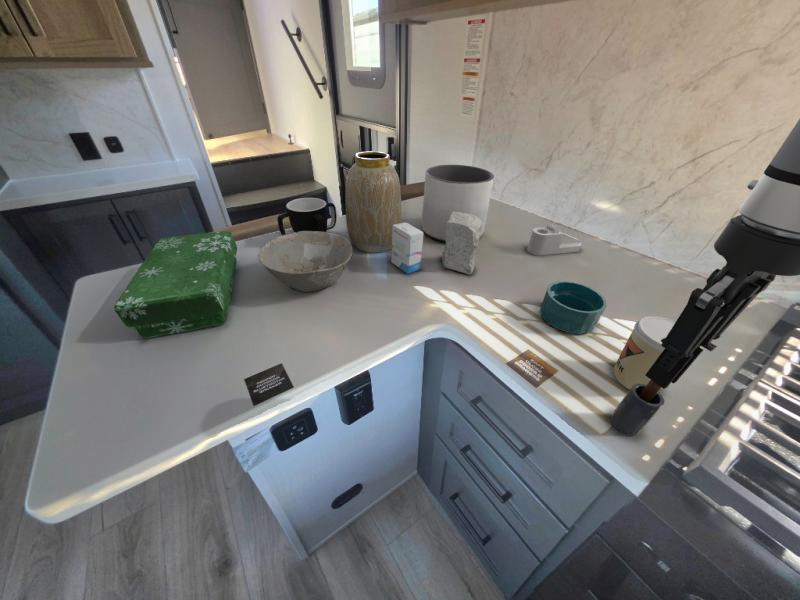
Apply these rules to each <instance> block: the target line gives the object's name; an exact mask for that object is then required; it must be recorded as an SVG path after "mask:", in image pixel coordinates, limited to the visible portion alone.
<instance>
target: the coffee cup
mask: <svg viewBox="0 0 800 600" xmlns="http://www.w3.org/2000/svg"><path fill="white" fill-rule="evenodd" d="M675 322H676V321H675V320H672V319H670V318H666V317H662V316H656V315H655V316H654V315H649V316H644V317H641V318H640V319H638V320H637V321H636V322H635V324H634V326H633V329H632V331H631V333H630V334H629V336H628V338H627V340H626V342H625V344H624V347H623V349H622V351H621V352H620V354H619V356H618V359H617V361H616V363H615V365H614V367H613V375H614V377H615V380H617V381H618V383H620V384H621V385H622V386H623V387H625V388H627V389H628V391H629V390H630V389H631V387H632V386H633V385H635V384H645V385H647V384H648V382H649V381H650V380H651V379H649V378H648V377H647V376H645V374H646V373H647V372H648V370H649V369H650V368H651V366H652V365H653V364H654V362H655V361H656V360H657V358H658V357H659V356H660V354H661V353H662V352H663V350H664V349H665V348H664V347H662V346H661V344H662V342H661V340H662V339H663V338H666V337H667V335H668V333H669V332H670V330H671V329H672V327H673V326H674V324H675ZM700 348H701V349H702V346H701V347H700ZM662 389H663V388H661V389H660V391H661V390H662Z"/></svg>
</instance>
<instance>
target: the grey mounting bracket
mask: <svg viewBox="0 0 800 600" xmlns="http://www.w3.org/2000/svg"><path fill="white" fill-rule="evenodd" d="M581 247H582V242H581V240H580V239H578V238H576V237H575V236H571V235H569V234H567V233H565V232H562V231H561V229H560V228H558V227H556V226H555V225H554V224H553V223H550V224H546V226H541V227H534V228H533V229H532V231H531V235H530V238H529V242H528V245H527V248H526V251H527V252H528V253H529V254H531V255H535V256H549V255H558V254H569V253H579V251H580V250H581Z"/></svg>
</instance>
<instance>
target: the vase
mask: <svg viewBox="0 0 800 600" xmlns="http://www.w3.org/2000/svg"><path fill="white" fill-rule="evenodd" d="M390 159H391V156H390V154H389V153H387V152H382V151H361V152H357V153H355V155H354V163H353V165H352V166H351V167H350V168H349V170H348V173H347V175H346V179H345V188H344V189H345V191H344V193H345V194H344V201H345V202H344V203H345V204H344V205H345V221H346V223H345V224H346V230H347V235H348V238H349V239H350V241H351V244H352V245H353V246H354V247H355V248H356V249H357V250H359V251H362V252H365V253H374V254H375V253H383V252H386V251H389V250H392V228H393V225H395V224H400V223H402V191H401V183H400V177H399V174H398V172H397V170H396V169H395V167H394V166H393V165H392V164H391V163H390Z"/></svg>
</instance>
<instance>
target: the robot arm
mask: <svg viewBox="0 0 800 600" xmlns="http://www.w3.org/2000/svg"><path fill="white" fill-rule="evenodd" d="M746 187H747V189H748V190H750V192H749V194H748V195H747V196H746V197H745V199H744V200H743V201H742V203H741V204H740V206H739V208H738V212H739V215H736V216H735V217H732V218H730V220H729V221H728V222H727V224H726V226H725V227H724V228H723V230H722V231H721V233H720V235H719V236H718V237H717V239H716V240H715V242H714V243H713V249H714V251H715V252H716V253H717V254H718V255H719V256H722V258H724V261H725V262H726V263H725V265H723V266H722V268H721V269H720V268H716V269H714V270H713V271H712V272H711V273H710V275H709V276H708V277H707V279H706V285H705V286H704V287H703V288H700V287H697V288H695V289H693V290H692V291H691V293H690V296H689V298H688V300H687V302H686V305H685V306H684V307H683V309H682V312H681V313H680V314H679V316H678V318H677V319H676V321H675V324H674V326H673V327H672V329H671V330H670V332H669V333H668V335H667V337H666V338H663V339H662V340H661V342H662V344H661V346H662V347H664V348H665V349H664V350H663V352H662V353H661V354H660V356H659V357H658V358H657V360H656V361H655V362H654V364H653V365H652V366H651V368H650V369H649V370H648V372H647V373H646V374H645V376H647V377H648V378H649V379H651V380H652V381H654V382H655V383H656V384H658V385H659V386H660V387H662V389H663V390H665V389H667V388H668V387H669V386H670V384H675V383H677V382H678V381H679V380H680V379H681V377H682V376H683V375H684V374H685V373H686V372H687V370H688V369H689V368H690V367H691V365H692V364H693V363H694V362H695V361H696V359H697V358H698V357H699V356H700V355H701V354H702V352H704V349H706V350H708V351H709V352H713V351H714V350H715V349H716V348H717V347H718V346H717V345H716V344H713V343H712V342H713V341H716V340H719V339H720V338H721V335H722V334H723V333H724V332H725V331H726V330H727V329H728V328H729V327H730V326H731V325H732V324H733V323H734V321H735V320H736V319H737V318H738V317H739V316H740V314H742V313H743V311H744V310H745V309H746V308H748V306H749V305H750V304H751V303H752V302H753V301H754V300H755V298H756V297H757V296H759V294H760V293H762V292H764V291H765V290H767V288H768V287H769V286H770V285H771V284H772V282H774V281H775V280H776V277H777V276H779V277H780V276H781V277H795V276H800V118H799V119H798V120H797V121H796V123H795V125H794V127H793V128H792V129H791V131H790V132H789V134H788V135H787V137H786V138H785V140H784V142H783V143H782V144H781V146H780V148H779V149H778V151H777V152H776V153H775V155H774V156H773V158H772V159H771V161H770V162H769V163H768V165H767V166H766V168H765V169H764V171H763V173H762V174H761V175H760V177H759V179H752V180H750V182H748V183H747V185H746ZM700 347H701V348H700ZM703 348H704V349H703Z"/></svg>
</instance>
